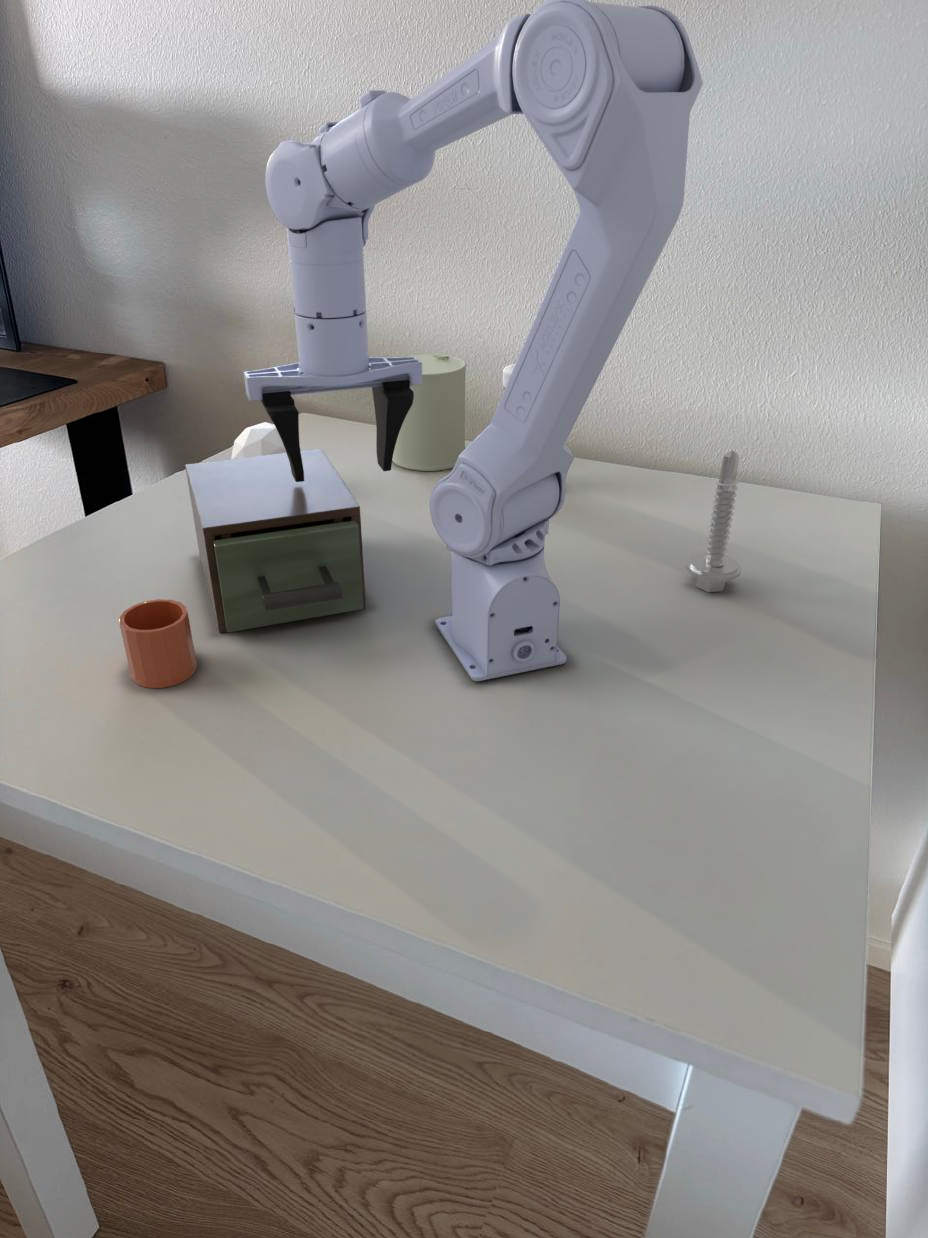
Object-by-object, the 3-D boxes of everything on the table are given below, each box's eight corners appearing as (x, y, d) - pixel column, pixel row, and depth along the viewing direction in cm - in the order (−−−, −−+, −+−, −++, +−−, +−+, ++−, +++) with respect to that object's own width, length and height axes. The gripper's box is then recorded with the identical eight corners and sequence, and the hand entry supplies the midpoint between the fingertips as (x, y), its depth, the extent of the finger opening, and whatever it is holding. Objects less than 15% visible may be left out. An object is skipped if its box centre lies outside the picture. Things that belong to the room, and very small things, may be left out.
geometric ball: (254, 513, 103) (213, 453, 102) (312, 476, 105) (272, 417, 104) (261, 504, 96) (217, 439, 94) (323, 465, 98) (281, 401, 97)
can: (479, 453, 112) (481, 355, 106) (440, 476, 106) (439, 374, 99) (417, 439, 116) (415, 345, 110) (376, 462, 110) (371, 362, 103)
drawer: (378, 636, 73) (374, 549, 69) (235, 662, 70) (222, 573, 66) (328, 544, 88) (322, 468, 84) (208, 561, 85) (196, 483, 81)
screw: (740, 578, 84) (734, 602, 80) (688, 569, 85) (679, 593, 82) (764, 444, 77) (759, 463, 73) (707, 437, 79) (698, 455, 75)
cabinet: (366, 607, 79) (360, 506, 74) (219, 633, 75) (202, 528, 70) (328, 539, 91) (321, 448, 86) (200, 558, 87) (185, 464, 82)
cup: (200, 681, 69) (190, 625, 67) (133, 693, 68) (120, 637, 65) (193, 648, 73) (184, 594, 71) (130, 660, 72) (118, 605, 69)
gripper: (403, 295, 77) (408, 447, 84) (231, 307, 73) (251, 466, 80) (428, 312, 72) (431, 474, 79) (243, 326, 68) (263, 495, 74)
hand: (341, 472), depth 79 cm, fingers open, 7 cm apart
